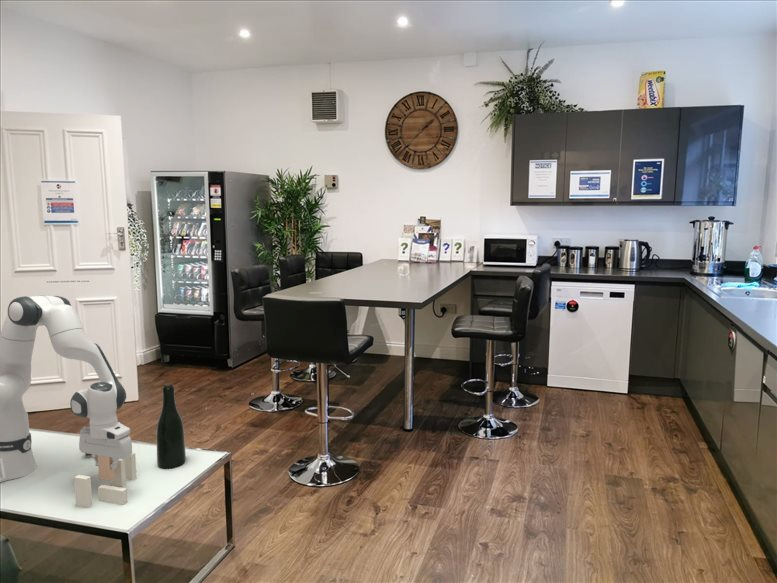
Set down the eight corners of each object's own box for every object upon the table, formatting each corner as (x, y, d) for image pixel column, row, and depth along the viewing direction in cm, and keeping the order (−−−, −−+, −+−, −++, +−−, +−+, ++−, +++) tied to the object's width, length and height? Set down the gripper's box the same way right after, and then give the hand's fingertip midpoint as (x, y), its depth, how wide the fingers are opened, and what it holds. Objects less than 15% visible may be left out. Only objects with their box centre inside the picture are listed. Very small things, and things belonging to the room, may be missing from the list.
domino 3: (122, 487, 209) (120, 460, 207) (111, 485, 210) (109, 458, 209) (126, 484, 210) (124, 458, 209) (115, 482, 212) (113, 456, 211)
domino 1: (87, 507, 194) (85, 479, 193) (75, 505, 195) (73, 477, 194) (92, 504, 196) (90, 476, 194) (80, 502, 197) (78, 474, 196)
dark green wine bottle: (176, 472, 221) (173, 388, 216) (151, 470, 223) (147, 386, 218) (191, 461, 231) (187, 380, 227) (166, 459, 233) (163, 379, 229)
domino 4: (99, 500, 199) (123, 505, 196) (98, 487, 198) (122, 491, 195) (103, 498, 201) (127, 502, 198) (102, 484, 200) (126, 488, 197)
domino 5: (132, 481, 213) (131, 455, 212) (121, 479, 215) (120, 453, 214) (136, 478, 215) (135, 453, 214) (125, 476, 217) (124, 451, 216)
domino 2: (110, 480, 203) (108, 453, 202) (99, 478, 205) (97, 451, 203) (114, 477, 205) (113, 450, 204) (103, 475, 206) (101, 449, 205)
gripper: (73, 428, 203) (75, 466, 204) (120, 435, 196) (122, 474, 198) (87, 422, 209) (90, 459, 210) (134, 429, 202) (136, 467, 204)
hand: (106, 466), depth 204 cm, fingers closed on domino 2, 5 cm apart
